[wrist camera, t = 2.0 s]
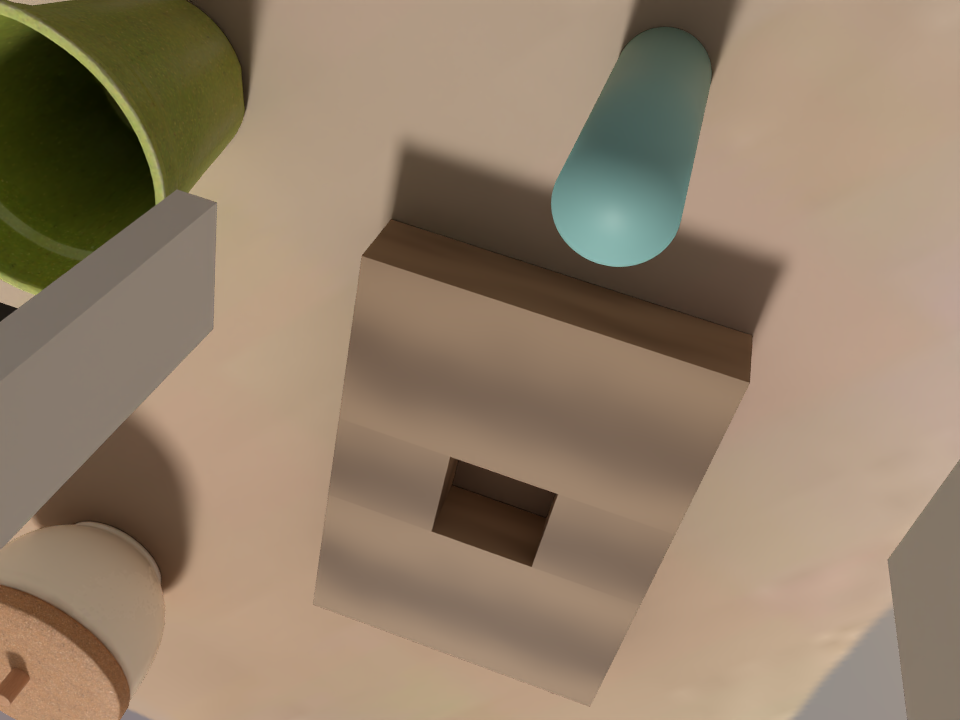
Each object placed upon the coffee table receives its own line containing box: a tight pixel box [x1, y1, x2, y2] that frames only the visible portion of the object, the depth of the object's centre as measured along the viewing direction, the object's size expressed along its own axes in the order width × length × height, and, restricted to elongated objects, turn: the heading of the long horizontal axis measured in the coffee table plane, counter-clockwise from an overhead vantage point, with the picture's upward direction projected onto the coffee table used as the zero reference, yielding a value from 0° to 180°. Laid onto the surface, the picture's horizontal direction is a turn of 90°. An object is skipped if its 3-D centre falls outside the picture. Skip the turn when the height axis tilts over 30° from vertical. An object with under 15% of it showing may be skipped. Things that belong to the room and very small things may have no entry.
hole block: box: [313, 219, 753, 707], centre depth 39 cm, size 20×14×3 cm
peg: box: [551, 27, 712, 267], centre depth 25 cm, size 3×3×10 cm
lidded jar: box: [0, 521, 165, 720], centre depth 48 cm, size 11×11×9 cm
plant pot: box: [0, 0, 245, 295], centre depth 30 cm, size 9×9×9 cm
